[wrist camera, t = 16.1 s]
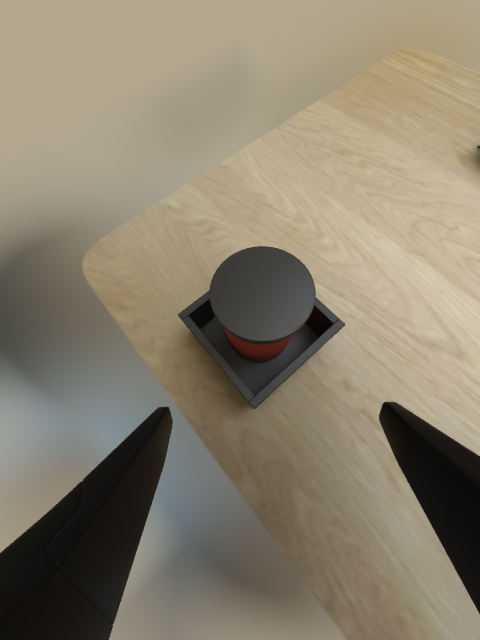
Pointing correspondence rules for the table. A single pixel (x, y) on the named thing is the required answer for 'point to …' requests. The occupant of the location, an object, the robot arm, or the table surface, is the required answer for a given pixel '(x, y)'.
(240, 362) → the bin
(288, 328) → the takeaway cup
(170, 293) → the table surface
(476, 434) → the table surface
